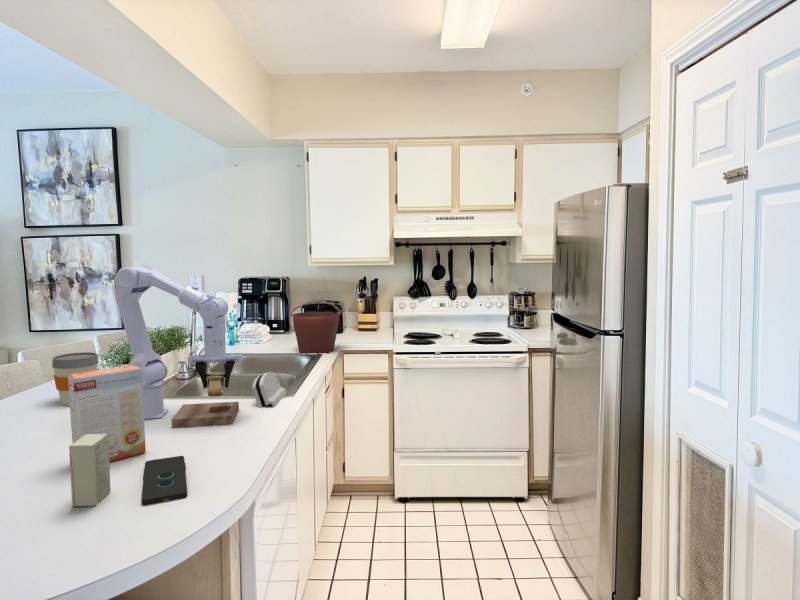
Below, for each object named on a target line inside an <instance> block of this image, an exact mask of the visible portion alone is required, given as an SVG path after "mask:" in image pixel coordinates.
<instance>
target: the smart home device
mask: <svg viewBox="0 0 800 600" xmlns="http://www.w3.org/2000/svg"><path fill="white" fill-rule="evenodd" d="M186 466H187V465H186V462H185V456H184V455H177V456H171V457H163V458H157V459H151V460H146V461H145V462H144V469H143V474H142V475H143V477H142V478H143V479H142V480H143V482H142V490H141V491H142V492H141V505H142V506H143V505H144V506H149V505H155V504H160V503H166V502H171V501H176V500H182V499H186V498H187V497H188V486H187V475H186V468H187V467H186ZM144 506H143V507H144Z"/></svg>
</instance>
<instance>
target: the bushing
mask: <svg viewBox="0 0 800 600" xmlns="http://www.w3.org/2000/svg"><path fill="white" fill-rule="evenodd" d="M206 378H207V396H208V397H221V396H222V397H223V396H224V394H225V372H224V371H223V372H222V371H221V372H220V371H214V372H213V371H212V372H207V374H206Z"/></svg>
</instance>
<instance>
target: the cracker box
mask: <svg viewBox="0 0 800 600" xmlns="http://www.w3.org/2000/svg"><path fill="white" fill-rule="evenodd" d="M68 386H69V401H70V406H69V413H70V427H71V440H72V441H71V442H72V443H74V442H75V441H77V440H78V439H79V438H81V437H82V436H84V435H85V434H108V445H109V463H111V462H115V461H119V460H123V459H126V458H130V457H134V456H138V455H141V454H142V455H143V454H146V450H147V449H146V447H147V446H146V430H145V419H144V408H143V390H142V371H141V368H139V367H137V366H134V365H130V366H129V365H125V366H119V367H112V368H111V367H110V368H104V369H97V370H96V371H89V372H82V373H76V374H69V375H68ZM72 443H71V444H72Z"/></svg>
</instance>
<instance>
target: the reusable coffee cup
mask: <svg viewBox="0 0 800 600" xmlns="http://www.w3.org/2000/svg"><path fill="white" fill-rule="evenodd" d="M98 364H99V356H98V353H96V352H87V351H86V352H71V353H65V354H59V355H56V356H54V357H52V364H51V367H52V368H53V371H54V375H53V379H54V384H55V388H56V390H57V391H58V395H59V400H60V404H61V405H62V406H65V407H70V401H69V386H68V375H69V374H76V373H82V372H89V371H96V370H98Z"/></svg>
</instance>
